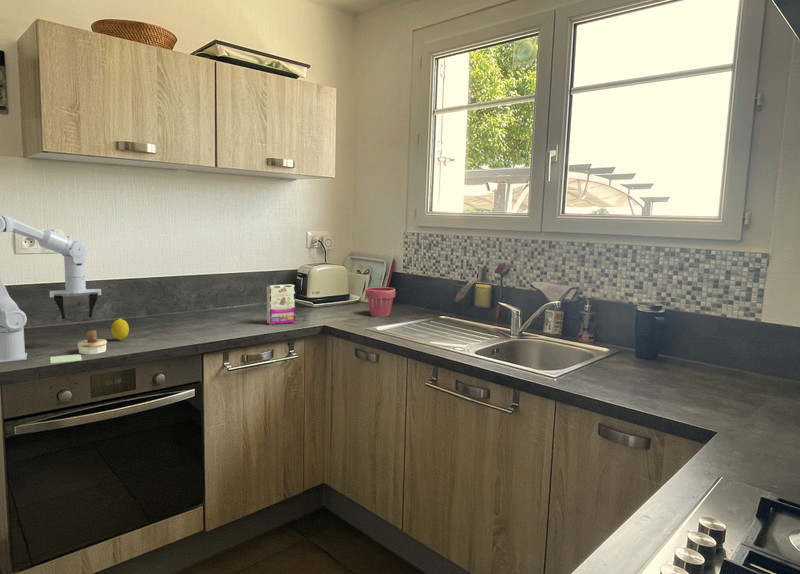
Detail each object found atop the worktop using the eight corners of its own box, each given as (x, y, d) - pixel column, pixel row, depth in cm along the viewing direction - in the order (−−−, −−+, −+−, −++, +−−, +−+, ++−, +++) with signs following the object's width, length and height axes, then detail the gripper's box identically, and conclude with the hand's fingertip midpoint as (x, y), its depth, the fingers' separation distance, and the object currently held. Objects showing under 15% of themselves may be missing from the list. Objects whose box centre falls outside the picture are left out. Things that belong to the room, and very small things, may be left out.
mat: (50, 364, 158) (50, 363, 158) (50, 357, 165) (50, 357, 165) (82, 360, 163) (82, 359, 162) (80, 355, 169) (80, 354, 169)
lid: (77, 348, 167) (76, 334, 167) (77, 342, 174) (76, 329, 173) (107, 345, 171) (106, 332, 171) (106, 340, 178) (105, 327, 178)
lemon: (109, 342, 186) (109, 320, 185) (113, 339, 191) (112, 317, 190) (127, 342, 188) (126, 319, 187) (130, 338, 193) (130, 316, 192)
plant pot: (358, 314, 256) (359, 287, 255) (381, 311, 266) (382, 286, 264) (378, 319, 246) (378, 291, 244) (400, 316, 255) (401, 289, 254)
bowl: (79, 356, 168) (79, 347, 168) (78, 350, 174) (77, 342, 174) (107, 353, 172) (106, 345, 172) (104, 348, 178) (104, 340, 178)
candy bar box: (291, 321, 235) (291, 283, 233) (295, 323, 230) (295, 285, 228) (266, 323, 229) (266, 284, 226) (270, 325, 224) (270, 286, 222)
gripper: (49, 279, 169) (51, 321, 170) (101, 277, 177) (103, 318, 178) (48, 276, 175) (50, 317, 176) (99, 275, 183) (101, 314, 184)
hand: (77, 317), depth 178 cm, fingers open, 7 cm apart
